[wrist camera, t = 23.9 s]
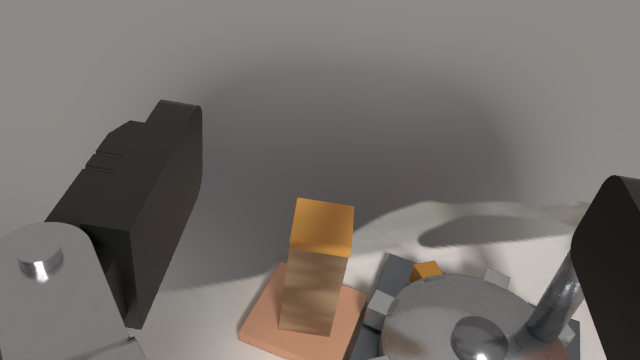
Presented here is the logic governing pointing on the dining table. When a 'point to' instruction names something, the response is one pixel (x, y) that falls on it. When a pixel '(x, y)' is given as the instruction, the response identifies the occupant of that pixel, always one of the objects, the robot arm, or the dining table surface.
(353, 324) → the salmon brown square slab
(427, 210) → the dining table surface
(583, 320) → the dining table surface
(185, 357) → the dining table surface
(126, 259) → the robot arm
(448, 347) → the sprocket
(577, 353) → the sprocket base
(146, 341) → the dining table surface
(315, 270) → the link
